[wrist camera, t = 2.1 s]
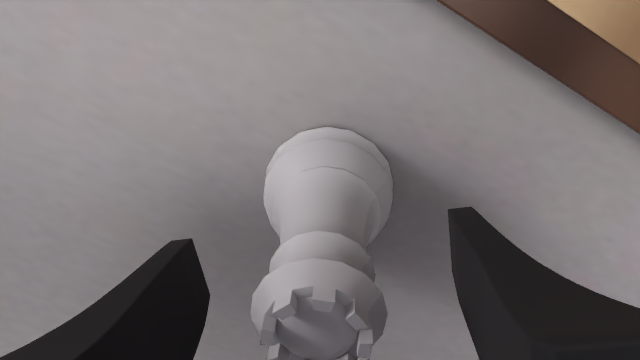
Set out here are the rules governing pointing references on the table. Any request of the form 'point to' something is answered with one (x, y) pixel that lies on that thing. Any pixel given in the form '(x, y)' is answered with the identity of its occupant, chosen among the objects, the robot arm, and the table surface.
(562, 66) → the cutting board
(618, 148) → the table surface
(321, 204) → the rook chess piece
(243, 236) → the table surface
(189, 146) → the table surface
